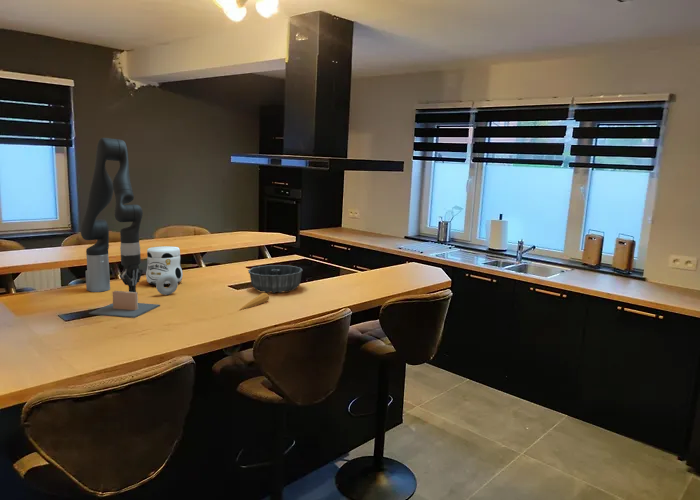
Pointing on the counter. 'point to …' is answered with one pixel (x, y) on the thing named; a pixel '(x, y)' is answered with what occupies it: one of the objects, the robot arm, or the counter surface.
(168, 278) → the donut
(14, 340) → the counter surface
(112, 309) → the mat
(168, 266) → the milk container
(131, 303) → the tile
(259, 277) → the bundt pan
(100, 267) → the robot arm
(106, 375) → the counter surface
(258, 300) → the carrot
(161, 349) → the counter surface
